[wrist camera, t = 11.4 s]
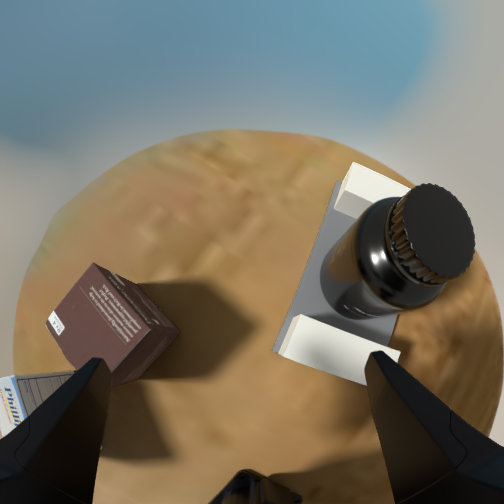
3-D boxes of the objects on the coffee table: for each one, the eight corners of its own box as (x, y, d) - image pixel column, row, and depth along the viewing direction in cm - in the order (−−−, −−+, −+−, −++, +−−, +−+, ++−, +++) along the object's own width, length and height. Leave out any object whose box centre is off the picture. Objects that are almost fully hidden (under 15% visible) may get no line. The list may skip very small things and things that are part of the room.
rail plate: (369, 385, 21) (391, 392, 17) (271, 350, 22) (276, 353, 18) (416, 221, 25) (437, 203, 21) (335, 183, 26) (347, 159, 22)
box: (183, 332, 22) (153, 330, 15) (137, 381, 21) (93, 395, 14) (135, 281, 23) (93, 258, 16) (92, 329, 22) (41, 322, 15)
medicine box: (44, 376, 20) (-17, 380, 12) (76, 369, 21) (12, 374, 12) (72, 450, 18) (18, 475, 10) (105, 448, 19) (53, 480, 10)
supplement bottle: (339, 336, 21) (423, 330, 10) (303, 259, 23) (350, 185, 12) (405, 298, 22) (503, 262, 11) (370, 229, 24) (443, 152, 12)
